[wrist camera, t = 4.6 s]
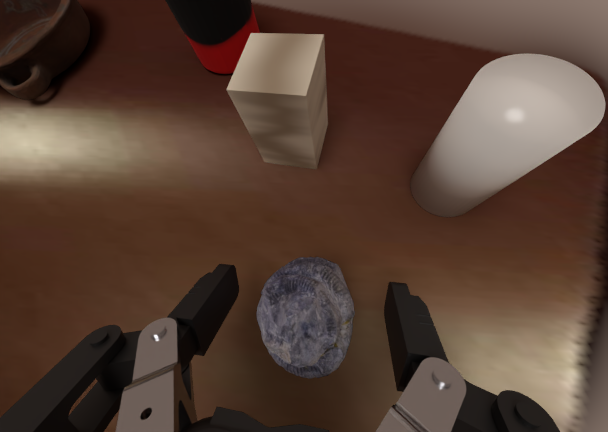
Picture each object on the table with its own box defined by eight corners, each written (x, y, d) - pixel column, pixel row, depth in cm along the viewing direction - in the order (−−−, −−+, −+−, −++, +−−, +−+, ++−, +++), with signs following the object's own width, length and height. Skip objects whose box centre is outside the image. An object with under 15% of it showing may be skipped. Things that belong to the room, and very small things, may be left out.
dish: (-21, 134, 29) (-90, 103, 24) (1, 31, 36) (-48, -9, 32) (110, 83, 29) (66, 41, 24) (104, -10, 36) (70, -55, 32)
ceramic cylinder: (399, 198, 19) (452, 115, 10) (426, 151, 20) (494, 42, 11) (462, 228, 17) (585, 163, 9) (488, 177, 18) (619, 73, 10)
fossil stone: (365, 293, 17) (404, 289, 7) (324, 361, 15) (306, 463, 6) (305, 252, 18) (272, 205, 9) (264, 312, 17) (176, 332, 8)
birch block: (264, 162, 21) (226, 89, 14) (278, 119, 23) (250, 32, 15) (316, 169, 20) (305, 95, 13) (327, 124, 22) (323, 34, 14)
